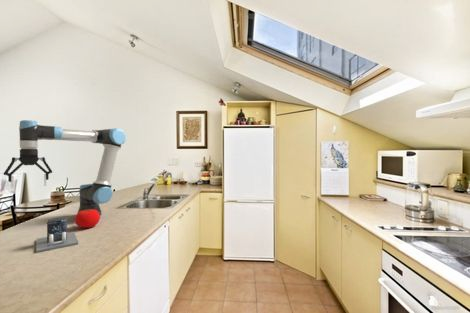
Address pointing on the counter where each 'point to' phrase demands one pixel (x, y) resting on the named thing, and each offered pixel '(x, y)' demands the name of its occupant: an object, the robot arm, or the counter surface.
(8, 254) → the counter surface
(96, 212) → the tomato
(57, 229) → the box
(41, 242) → the grey stand base
